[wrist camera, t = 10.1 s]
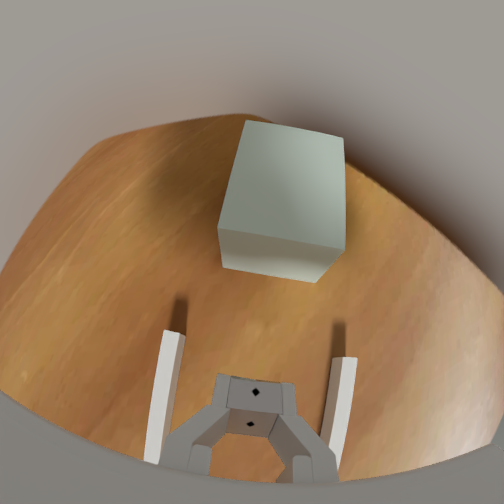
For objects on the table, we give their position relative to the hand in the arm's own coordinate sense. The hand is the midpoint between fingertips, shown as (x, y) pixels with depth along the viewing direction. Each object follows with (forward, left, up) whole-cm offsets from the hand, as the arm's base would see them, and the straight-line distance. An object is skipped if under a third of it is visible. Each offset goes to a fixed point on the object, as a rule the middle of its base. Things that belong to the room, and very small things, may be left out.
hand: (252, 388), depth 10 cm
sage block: (+1, +13, -11) cm, 18 cm away
